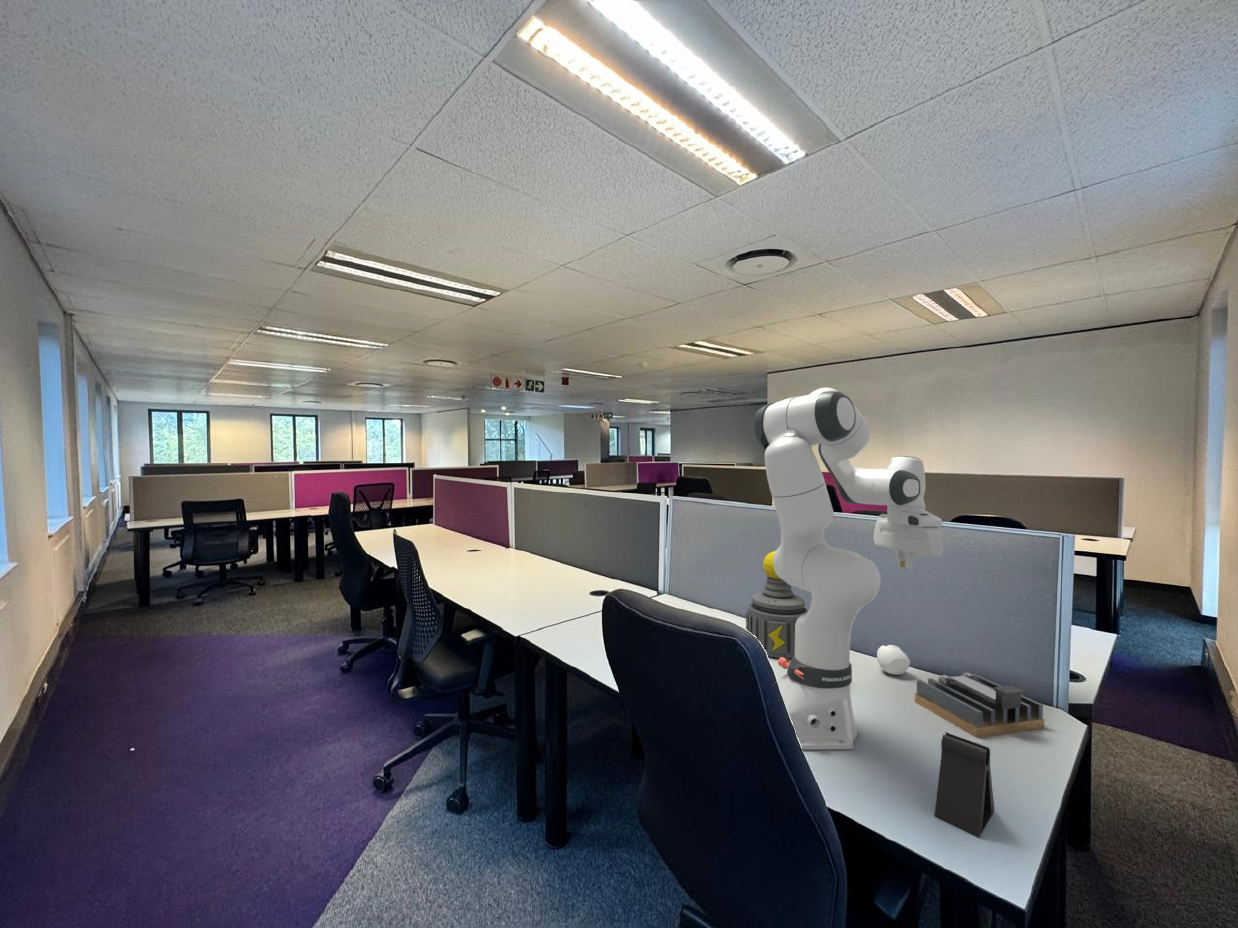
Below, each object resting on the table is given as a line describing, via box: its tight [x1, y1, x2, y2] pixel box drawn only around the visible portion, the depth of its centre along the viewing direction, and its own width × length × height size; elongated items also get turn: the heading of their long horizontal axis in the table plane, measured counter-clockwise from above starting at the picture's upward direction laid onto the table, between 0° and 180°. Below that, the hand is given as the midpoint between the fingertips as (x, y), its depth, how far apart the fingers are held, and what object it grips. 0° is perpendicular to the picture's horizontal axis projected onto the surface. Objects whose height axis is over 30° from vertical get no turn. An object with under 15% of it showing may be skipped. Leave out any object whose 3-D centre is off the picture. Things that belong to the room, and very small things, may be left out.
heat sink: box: [914, 672, 1045, 738], centre depth 113 cm, size 18×17×9 cm
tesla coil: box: [745, 550, 809, 660], centre depth 153 cm, size 19×19×30 cm
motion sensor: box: [876, 644, 911, 676], centre depth 136 cm, size 8×8×8 cm
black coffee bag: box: [934, 731, 995, 838], centre depth 81 cm, size 9×6×12 cm, turn 131°
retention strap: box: [951, 675, 996, 704], centre depth 113 cm, size 5×12×1 cm, turn 13°
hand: (905, 568), depth 134 cm, fingers closed
